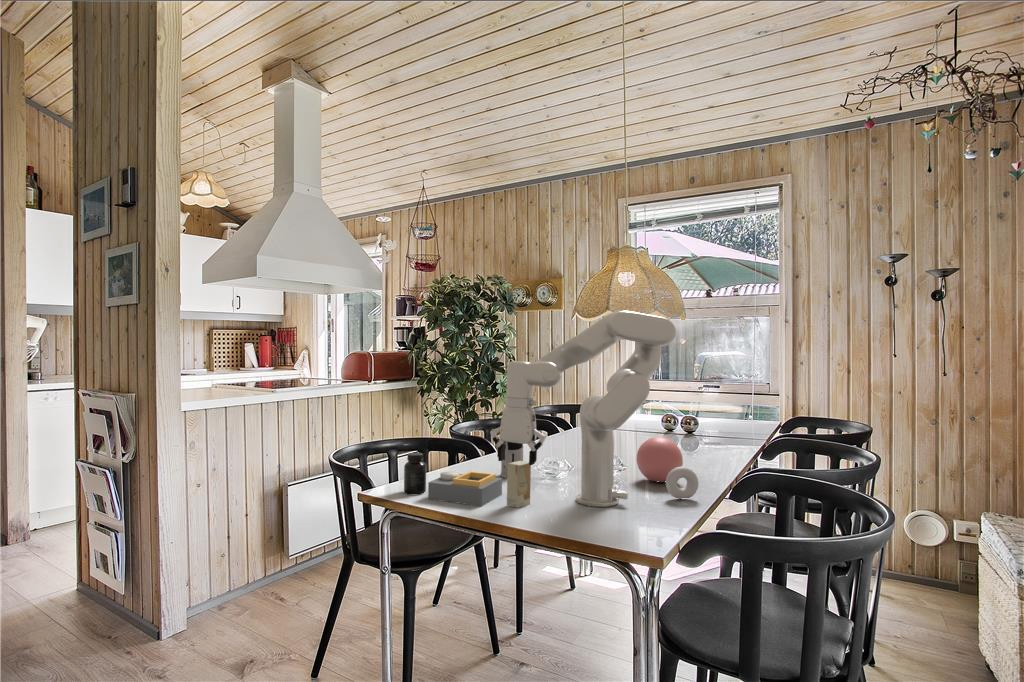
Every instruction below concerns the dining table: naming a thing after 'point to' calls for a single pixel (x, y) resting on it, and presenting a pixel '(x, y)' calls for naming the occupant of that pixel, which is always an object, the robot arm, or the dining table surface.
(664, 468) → the pink ellipsoid
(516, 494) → the skincare box
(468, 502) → the grey rectangular block
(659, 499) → the dining table surface
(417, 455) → the supplement bottle
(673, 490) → the donut
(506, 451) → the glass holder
